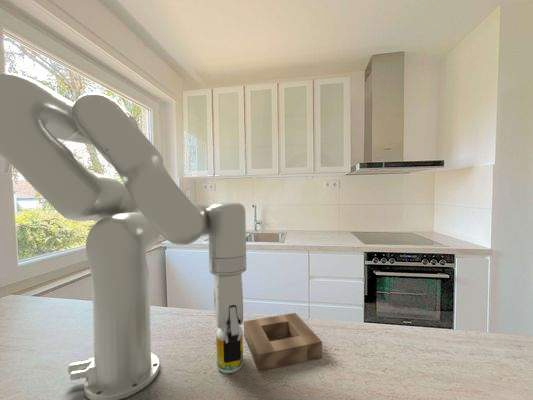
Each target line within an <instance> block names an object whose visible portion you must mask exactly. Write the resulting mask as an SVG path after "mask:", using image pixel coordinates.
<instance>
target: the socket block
mask: <svg viewBox="0 0 533 400" xmlns="http://www.w3.org/2000/svg"><path fill="white" fill-rule="evenodd" d="M243 336H244V338H245V342H246V344H247V347H248V349H249V351H250V354H251V357H252V359H253V362H254V364H255V367H256V370H257V371H258V373H263V372H268V371H271V370H276V369H281V368H284V367H288V366H294V365H297V364H302V363H307V362H310V361H315V360H316V361H317V360H320V359H323V342H322V340H321V338H320V337H319V336H317V334H316V333H315V332H314V331H313V330H312V329H311V328H310V327H309V326H308V325H307V324H306V322H304V321H303V319H302V318H301V317H300V315H298V314H297V313H296V312H293V313H286V314H280V315H275V316H268V317H264V318H263V317H262V318H256V319H250V320H243ZM285 336H288V337H287V338H281V339H277V338H280V337H285ZM270 339H276V340H271V341H270Z"/></svg>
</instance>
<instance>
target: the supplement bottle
mask: <svg viewBox="0 0 533 400" xmlns="http://www.w3.org/2000/svg"><path fill="white" fill-rule="evenodd" d="M226 324H230V321H227V322H226ZM230 330H231V328H228V333H229V332H230ZM239 333H240V353H241V358H240V360H237V361H233V362H228V363H225V362H224V349H223V341H225V333H224V327H222V328H221V329H219V328H218V329H217V330H216V333H215V334H216V335H215V339H216V340H215V341H216V345H215V346H216V367H217V368H218V369H217V370H219V371H220V372H222V373H224V374H231V373H235V372H237V371H239V370H240V369H241V368H242V366H243V365H244V364H243V363H244V346H243V345H244V344H243V343H244V342H243V341H244V338H243V336H244V334H243V329H242V327H241V325H239Z"/></svg>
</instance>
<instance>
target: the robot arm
mask: <svg viewBox="0 0 533 400" xmlns="http://www.w3.org/2000/svg"><path fill="white" fill-rule="evenodd" d="M60 140H62V141H67V142H74V143H80V144H85V145H86V144H87V145H92V146H93V147H94V148H95V149H96V150H97V151H98V153H99V154H100V155H101V156H102V157H103V158H104V160H105V161H106V162H107V164H109V165H110V167H111V168H112V169H113V170H114V171H115V172H116V173H117V174H118V176H119V177H120V179H121V180H122V182H123V183H122V182H121V181H119V180H117V178H116V179H115V178H114V177H111V176H108V175H105V174H99V173H96V172H94V171H92V170H90V169H89V168H88V167H87V166H86V165H85V164H83V162H82V161H80V160H79V158H77V156H76V155H75V154H74V153H73V152H72V150H70V149H69V148H68V147H67V146H66V145H65V144H64V143H63V142H61V141H60ZM0 156H1V157H3V158H4V159H5V160H6V161H7V162H8V163H9V164H10V165H11V167H13V168H14V169H15V170H16V171H17V172H18V173H19V174H20V175H21V176H22V177H23V178H24V179H25V180H26V181H27V182H28V183H29V184H30V185H31V186H32V187H33V188H34V190H36V192H38V193H39V194H40V195H41V196H42V198H44V200H46V202H47V203H48V204H50V205H51V207H52V208H53V209H54V210H55V211H56V212H57V213H59V214H60V215H61V216H62V217H63V218H65V219H67V220H69V221H74V222H75V221H76V222H85V221H86V222H87V221H92V220H95V221H96V222H95V223H94V224H93V226H92V227H91V228H90V230H89V231H88V233H87V237H86V241H85V253H86V257H87V261H88V262H87V263H88V267H89V270H90V277H91V293H92V316H93V318H92V319H93V321H92V322H93V326H92V327H93V356H91V357H90V358H89V359H85V360H77V361H71V362H70V363H69V365H68V369H67V370H68V372H67V373H68V375H70V381H74V380H80V379H84V378H85V381H84V384H83V387H84V388H83V393H84V396H85V397H86V398H87V399H89V400H123V399H125V398H128V397H130V396H132V395H134V394H137V393H138V392H140V391H142V390H143V389H144V388H146V387H147V386H149V384H150V383H152V382H153V381H154V380H155V378H156V377H157V375H158V374H159V372H160V368H161V367H160V365H161V364H160V363H161V360H160V357H158V355H156V354H155V353H153V352H152V340H151V339H152V338H151V336H152V335H151V334H152V333H151V332H152V330H151V327H152V326H151V325H152V324H151V291H150V288H151V287H150V286H151V285H150V284H151V283H150V274H149V266H148V262H147V257H146V254H147V252H148V251H150V250H151V249H152V248H154V247H155V246H156V245H157V243H158V242H159V240H160V236H161V237H163V238H164V240H166V241H168V242H169V243H171V244H173V245H177V246H188V245H191V244H193V243H195V242H196V241H198V240H199V239H200V238H201V237H205V236H206V237H208V252H209V253H208V260H209V261H208V263H209V264H208V265H209V266H208V267H209V273H210V275H213V314H214V318H215V319H214V320H215V323H216V327H217V328H218V329H221V328H222V327H224V333H225V341H223V349H224V362H225V363H228V362H233V361H237V360H240V358H241V353H240V333H239V326H241V325H242V324H244V293H243V292H244V291H243V275H242V274H243V273H245V272H246V271H247V228H246V227H247V225H246V220H247V219H246V208H245V205H243V204H241V203H239V202H238V203H237V202H234V203H233V202H223V203H222V202H220V203H214V204H213V203H212V204H205V203H197V202H196V203H195V202H192V201H191V200H190V199H189V197H188V196H187V195H186V194H185V193H184V192H183V190H182V189H181V188H180V187H179V186H178V184H177V183H176V181H175V180H174V179H173V178H172V177H171V175H170V173H169V172H168V171H167V169H166V166H165V163H164V159H163V157H162V154H161V153H160V152H159V150H158V148H156V147H155V146H154V144H153V143H152V142H151V141H150V140H149V139H148V138H147V136H146V135H145V134H144V133H143V132H142V131H141V129H140V128H139V125H138V122H137V120H136V119H135V117H134V116H133V115H132V114H131V113H130V112H129V111H127V110H126V109H125V108H124V107H123V105H121V104H120V103H118V102H117V101H116V100H115V99H113V98H111V97H110V96H107V95H105V94H102V93H98V92H89V93H84V94H82V95H80V96H79V97H77V98H76V99H75V100H74V101H73V102H72V101H70V100H68V99H67V98H65V97H63V96H62V95H60V94H59V93H57V92H55V90H54V91H53V90H52V89H51V88H49V87H48V86H45V85H43V84H42V83H40V82H38V81H36V80H33V79H32V78H29V77H27V76H24V75H20V74H16V73H10V72H0ZM227 321H230V324H226V322H227ZM228 328H231V330H230V332H229V333H228Z"/></svg>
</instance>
